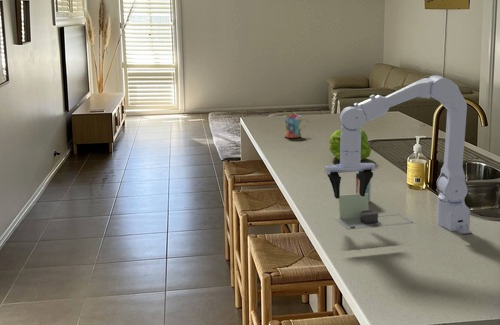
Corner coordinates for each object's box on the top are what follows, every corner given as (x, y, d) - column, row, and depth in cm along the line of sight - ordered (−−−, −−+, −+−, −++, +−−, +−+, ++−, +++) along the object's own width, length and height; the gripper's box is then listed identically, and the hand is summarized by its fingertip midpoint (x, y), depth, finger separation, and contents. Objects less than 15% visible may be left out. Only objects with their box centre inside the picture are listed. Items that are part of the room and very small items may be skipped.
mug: (284, 139, 319) (284, 117, 317) (282, 135, 328) (282, 114, 326) (308, 138, 320) (308, 117, 318) (306, 135, 329) (306, 114, 327)
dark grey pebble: (380, 223, 188) (380, 214, 188) (364, 224, 187) (364, 216, 187) (373, 217, 193) (373, 209, 192) (357, 219, 192) (357, 211, 191)
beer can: (359, 202, 214) (360, 167, 211) (372, 204, 211) (373, 169, 208) (352, 205, 210) (353, 169, 207) (365, 208, 207) (366, 171, 204)
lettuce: (360, 153, 289) (355, 121, 287) (377, 159, 265) (371, 124, 263) (323, 161, 287) (317, 129, 285) (336, 167, 263) (330, 132, 261)
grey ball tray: (413, 227, 188) (413, 221, 188) (346, 234, 184) (346, 227, 183) (399, 218, 197) (399, 212, 196) (335, 224, 192) (335, 218, 192)
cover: (367, 193, 194) (366, 192, 195) (339, 195, 192) (337, 195, 193) (368, 216, 194) (367, 215, 196) (340, 219, 192) (338, 218, 194)
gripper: (368, 145, 188) (367, 190, 191) (321, 148, 185) (320, 194, 188) (379, 150, 181) (377, 197, 184) (329, 153, 178) (329, 201, 181)
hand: (349, 196), depth 186 cm, fingers open, 7 cm apart
